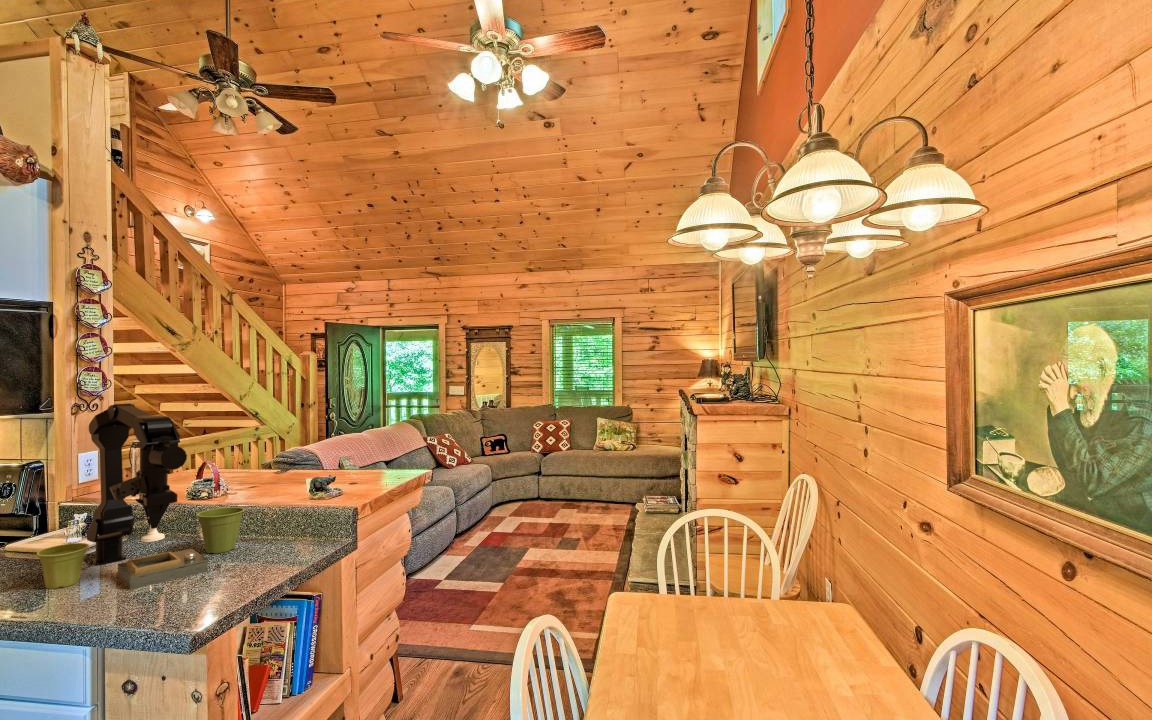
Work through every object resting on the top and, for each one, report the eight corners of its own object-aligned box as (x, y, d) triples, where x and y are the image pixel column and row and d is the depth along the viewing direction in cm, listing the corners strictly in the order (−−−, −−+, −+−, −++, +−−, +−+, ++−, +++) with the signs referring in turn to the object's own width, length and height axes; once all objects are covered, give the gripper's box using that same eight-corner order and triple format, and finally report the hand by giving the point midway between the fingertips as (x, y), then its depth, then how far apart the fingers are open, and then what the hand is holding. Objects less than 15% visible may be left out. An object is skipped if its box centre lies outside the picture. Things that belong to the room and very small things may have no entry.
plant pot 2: (253, 547, 163) (253, 509, 164) (211, 559, 153) (211, 518, 153) (229, 541, 169) (229, 504, 169) (187, 553, 158) (187, 513, 159)
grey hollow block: (117, 575, 141) (117, 557, 141) (191, 559, 153) (191, 542, 153) (130, 589, 132) (130, 570, 132) (207, 571, 144) (207, 553, 144)
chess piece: (145, 543, 137) (145, 502, 138) (137, 540, 140) (137, 500, 140) (168, 538, 141) (168, 499, 142) (160, 535, 144) (160, 496, 144)
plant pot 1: (98, 578, 139) (99, 543, 140) (60, 592, 130) (60, 555, 130) (65, 576, 140) (65, 542, 140) (24, 591, 131) (25, 554, 131)
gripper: (106, 466, 141) (105, 527, 141) (121, 475, 129) (120, 542, 129) (159, 460, 149) (158, 518, 149) (178, 468, 137) (177, 531, 137)
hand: (152, 527), depth 141 cm, fingers closed on chess piece
